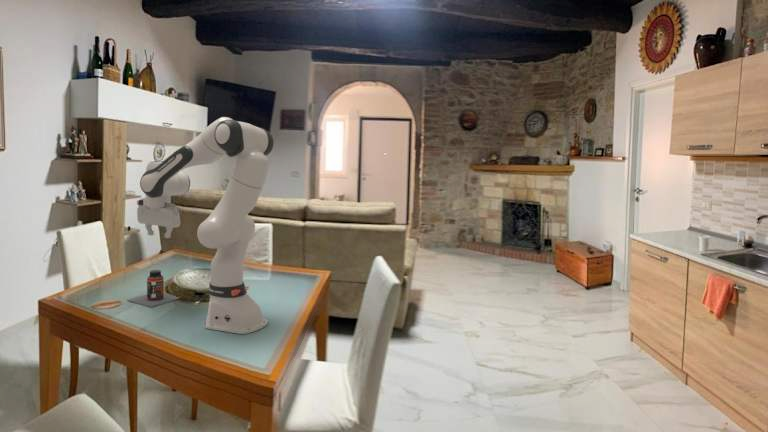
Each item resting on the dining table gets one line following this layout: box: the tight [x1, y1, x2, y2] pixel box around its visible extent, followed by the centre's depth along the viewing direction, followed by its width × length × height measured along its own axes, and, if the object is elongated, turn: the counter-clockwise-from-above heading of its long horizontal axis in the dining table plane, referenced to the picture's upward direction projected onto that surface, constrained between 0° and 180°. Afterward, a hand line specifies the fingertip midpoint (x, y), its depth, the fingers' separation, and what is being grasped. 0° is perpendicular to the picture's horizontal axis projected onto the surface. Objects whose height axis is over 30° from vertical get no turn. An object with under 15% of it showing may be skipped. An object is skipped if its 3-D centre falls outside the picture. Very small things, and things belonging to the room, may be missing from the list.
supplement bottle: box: [146, 269, 165, 300], centre depth 183 cm, size 6×6×11 cm
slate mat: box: [126, 292, 180, 308], centre depth 184 cm, size 14×14×1 cm
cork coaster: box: [90, 299, 123, 310], centre depth 175 cm, size 10×10×1 cm
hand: (159, 236), depth 182 cm, fingers open, 8 cm apart
